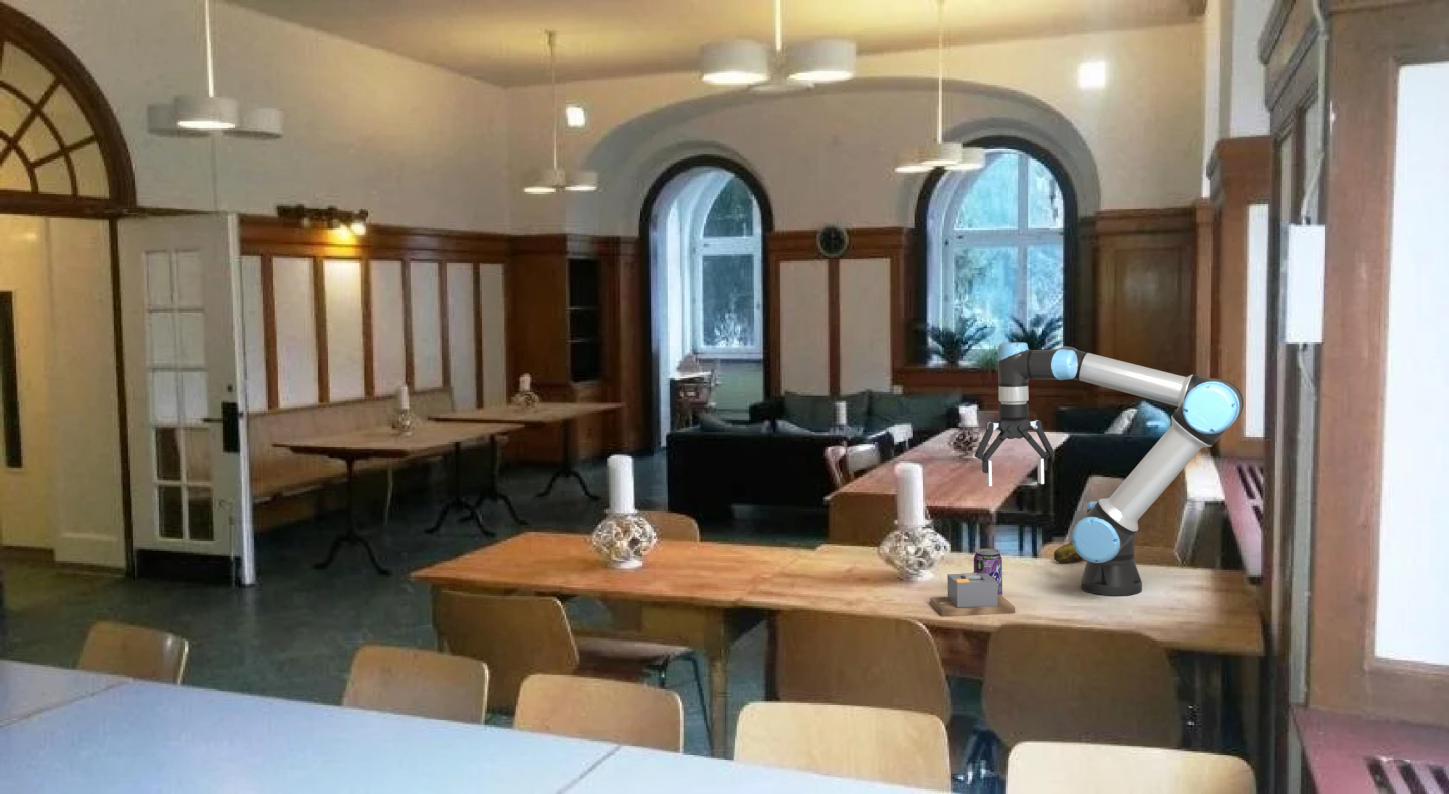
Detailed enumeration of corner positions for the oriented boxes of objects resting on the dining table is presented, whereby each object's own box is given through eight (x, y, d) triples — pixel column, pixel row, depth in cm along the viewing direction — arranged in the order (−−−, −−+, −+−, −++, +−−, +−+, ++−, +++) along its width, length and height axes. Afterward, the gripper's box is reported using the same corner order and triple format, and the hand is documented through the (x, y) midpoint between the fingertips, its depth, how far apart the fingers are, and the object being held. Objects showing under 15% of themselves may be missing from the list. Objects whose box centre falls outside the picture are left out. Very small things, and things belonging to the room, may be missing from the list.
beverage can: (982, 601, 304) (981, 554, 303) (969, 595, 311) (968, 549, 310) (1007, 598, 306) (1006, 552, 305) (994, 592, 313) (993, 547, 312)
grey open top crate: (986, 596, 303) (986, 570, 303) (997, 606, 293) (997, 579, 293) (947, 597, 303) (947, 571, 302) (957, 607, 293) (957, 580, 292)
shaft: (977, 600, 300) (976, 572, 299) (980, 603, 296) (980, 575, 296) (962, 600, 300) (962, 573, 299) (966, 604, 296) (966, 576, 295)
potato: (1052, 559, 350) (1051, 532, 349) (1098, 559, 347) (1097, 532, 347) (1054, 565, 342) (1054, 537, 341) (1101, 565, 339) (1101, 538, 339)
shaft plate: (1000, 600, 305) (1000, 593, 305) (1015, 612, 292) (1015, 606, 292) (930, 603, 304) (930, 597, 304) (942, 616, 291) (942, 609, 291)
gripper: (1056, 399, 311) (1057, 480, 313) (962, 403, 310) (963, 484, 312) (1066, 401, 304) (1067, 484, 305) (969, 405, 302) (971, 488, 304)
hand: (1015, 484), depth 308 cm, fingers open, 13 cm apart
